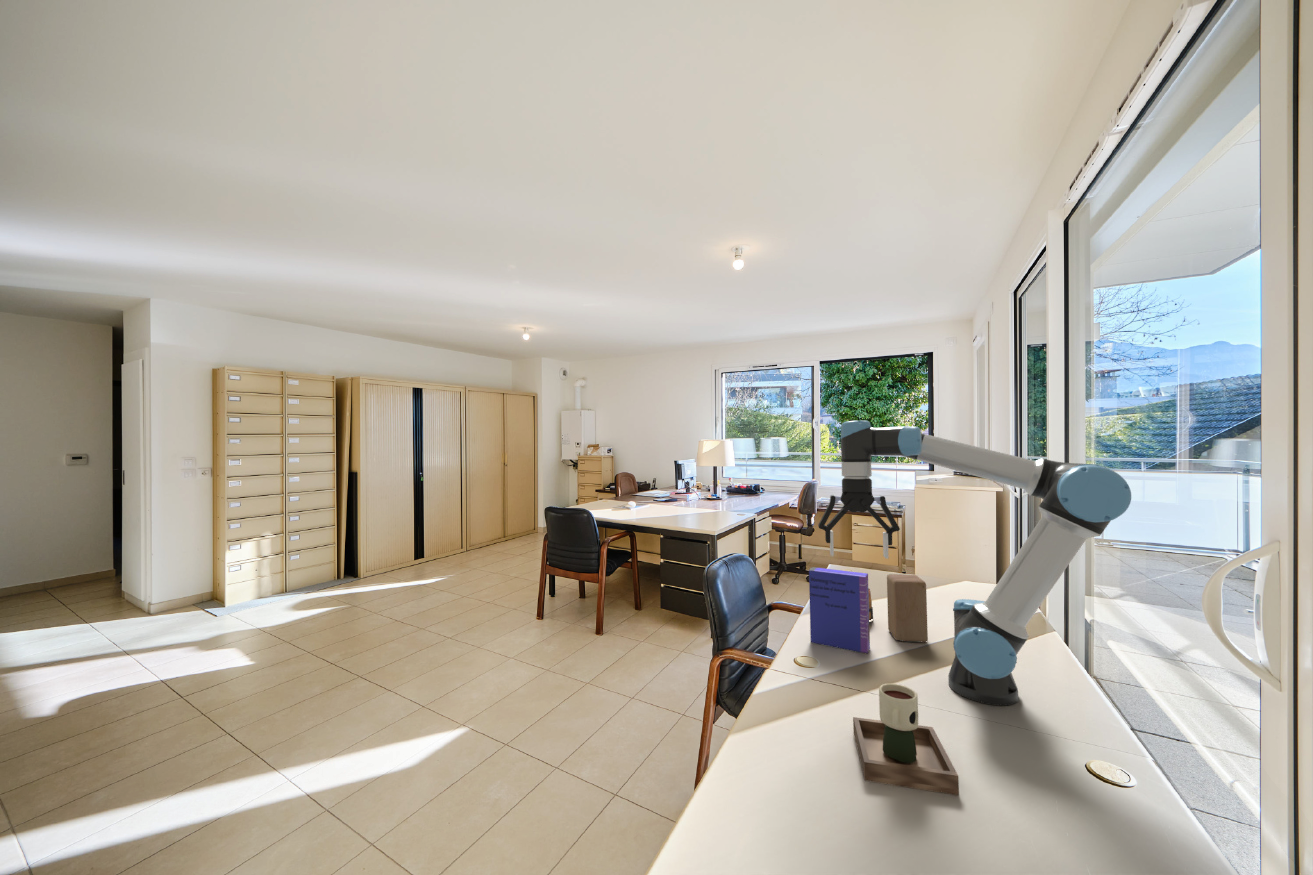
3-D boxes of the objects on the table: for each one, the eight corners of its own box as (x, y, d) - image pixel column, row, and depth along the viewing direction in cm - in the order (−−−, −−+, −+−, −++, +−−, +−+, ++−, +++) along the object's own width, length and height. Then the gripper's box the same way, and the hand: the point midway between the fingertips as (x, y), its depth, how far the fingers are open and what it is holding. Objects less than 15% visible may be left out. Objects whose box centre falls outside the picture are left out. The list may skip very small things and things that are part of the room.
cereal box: (869, 648, 152) (868, 572, 153) (867, 653, 148) (865, 576, 149) (814, 637, 161) (812, 566, 162) (810, 642, 157) (809, 569, 158)
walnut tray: (933, 743, 103) (932, 726, 103) (959, 795, 87) (958, 775, 87) (853, 732, 107) (853, 716, 107) (864, 780, 91) (864, 761, 92)
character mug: (917, 777, 91) (915, 708, 91) (876, 764, 94) (874, 698, 95) (921, 747, 100) (919, 684, 100) (884, 736, 104) (882, 676, 104)
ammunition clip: (860, 628, 170) (859, 594, 170) (855, 626, 171) (854, 593, 171) (873, 620, 177) (872, 588, 177) (868, 619, 178) (867, 587, 178)
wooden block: (928, 643, 155) (927, 582, 156) (895, 641, 157) (894, 580, 158) (918, 632, 165) (916, 574, 166) (887, 630, 167) (885, 573, 168)
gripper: (903, 477, 130) (905, 555, 129) (807, 476, 136) (809, 551, 136) (910, 478, 123) (913, 561, 122) (809, 478, 129) (810, 557, 128)
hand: (858, 556), depth 129 cm, fingers open, 13 cm apart
